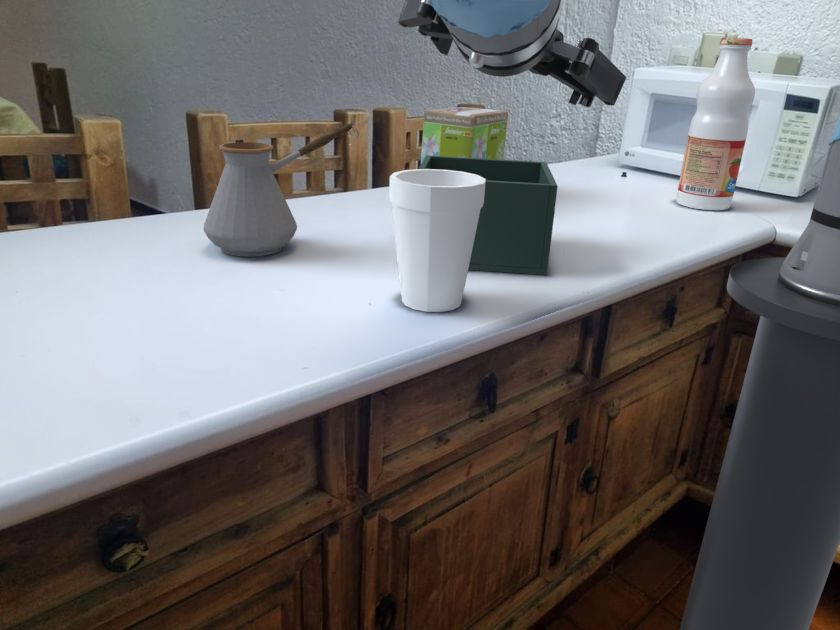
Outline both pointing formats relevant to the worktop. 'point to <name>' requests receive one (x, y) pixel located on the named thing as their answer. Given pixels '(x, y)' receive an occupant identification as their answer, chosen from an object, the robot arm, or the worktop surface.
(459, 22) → the robot arm
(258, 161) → the coffee pot
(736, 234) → the worktop surface
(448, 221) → the foam cup
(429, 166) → the waste bin
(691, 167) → the fruit juice
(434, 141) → the tea box
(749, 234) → the worktop surface
